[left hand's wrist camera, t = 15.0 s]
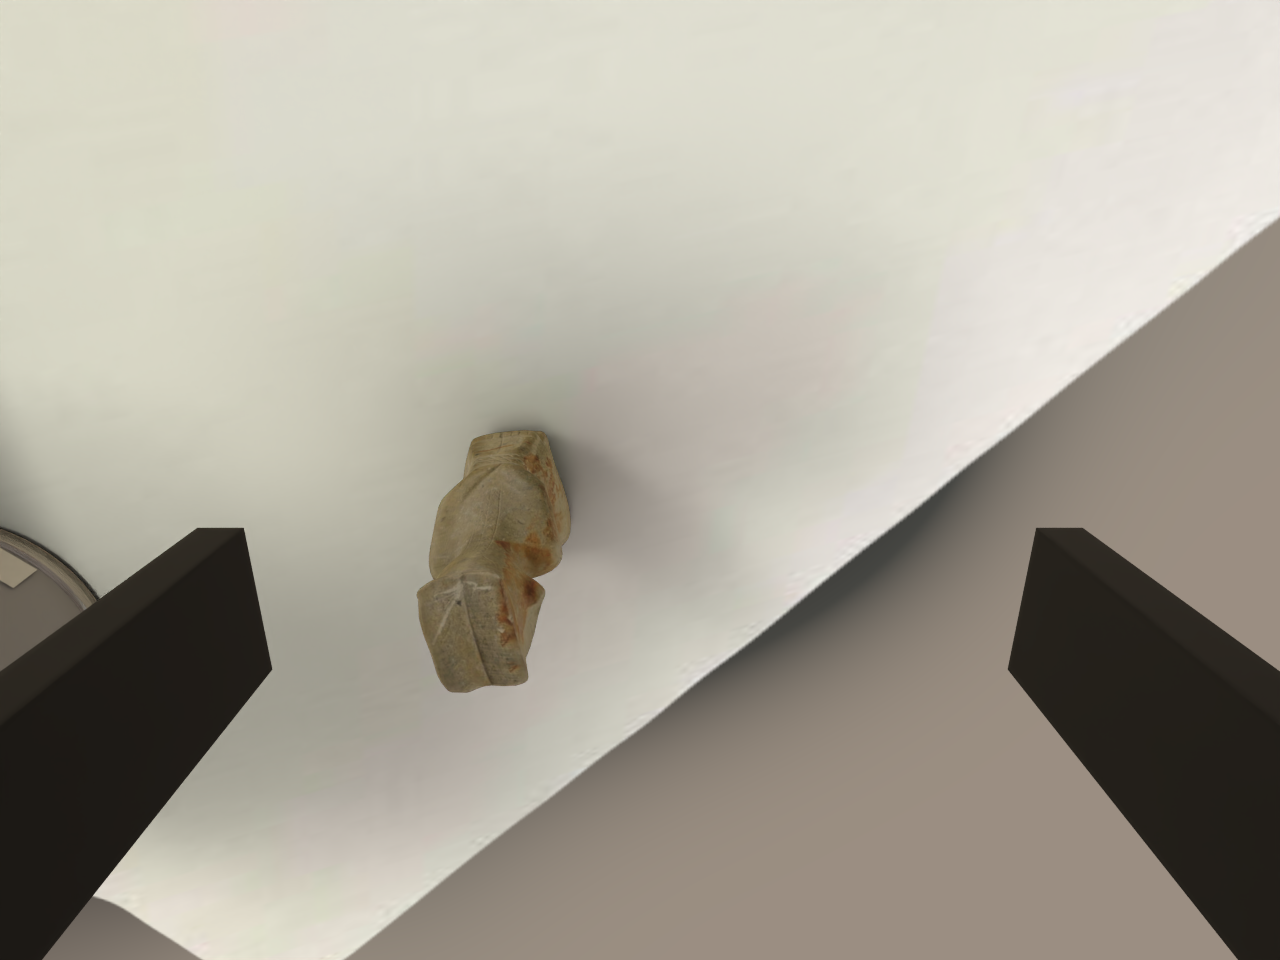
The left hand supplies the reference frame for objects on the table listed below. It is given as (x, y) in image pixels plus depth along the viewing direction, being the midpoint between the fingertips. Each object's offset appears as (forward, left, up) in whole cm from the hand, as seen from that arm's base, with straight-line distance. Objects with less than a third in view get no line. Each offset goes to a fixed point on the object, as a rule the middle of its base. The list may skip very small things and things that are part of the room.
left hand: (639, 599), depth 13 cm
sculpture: (-10, -1, -27) cm, 29 cm away
